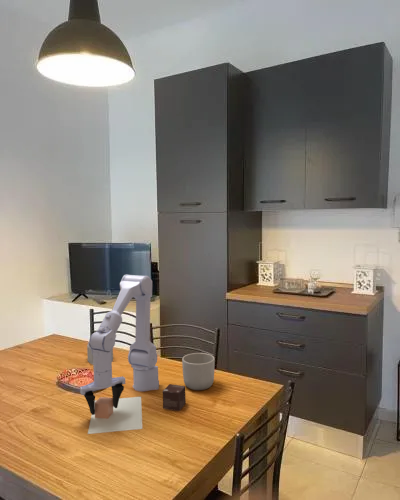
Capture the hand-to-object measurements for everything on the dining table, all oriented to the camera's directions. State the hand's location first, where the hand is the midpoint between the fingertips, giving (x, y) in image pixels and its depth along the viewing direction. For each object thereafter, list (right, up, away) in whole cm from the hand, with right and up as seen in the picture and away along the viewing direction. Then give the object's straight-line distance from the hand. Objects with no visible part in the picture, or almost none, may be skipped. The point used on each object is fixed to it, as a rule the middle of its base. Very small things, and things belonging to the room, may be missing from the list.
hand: (104, 410), depth 130 cm
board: (+4, -3, +1) cm, 5 cm away
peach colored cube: (0, -2, 0) cm, 2 cm away
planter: (+30, -1, +24) cm, 39 cm away
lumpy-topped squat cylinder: (-15, +1, +54) cm, 56 cm away
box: (+22, -2, +6) cm, 23 cm away
